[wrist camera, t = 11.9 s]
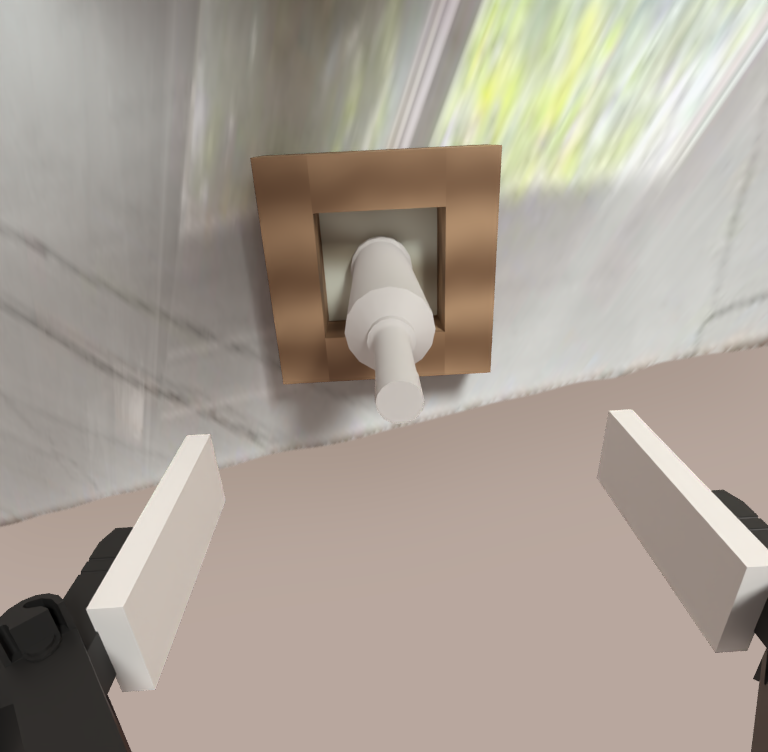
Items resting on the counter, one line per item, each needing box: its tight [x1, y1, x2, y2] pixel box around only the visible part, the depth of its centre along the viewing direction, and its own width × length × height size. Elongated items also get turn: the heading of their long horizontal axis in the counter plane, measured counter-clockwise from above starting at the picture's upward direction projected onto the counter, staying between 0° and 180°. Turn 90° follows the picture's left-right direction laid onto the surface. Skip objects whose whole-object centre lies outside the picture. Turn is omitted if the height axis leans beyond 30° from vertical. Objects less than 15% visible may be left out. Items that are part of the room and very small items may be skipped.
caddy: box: [250, 144, 502, 384], centre depth 42 cm, size 18×18×5 cm
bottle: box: [345, 236, 435, 424], centre depth 32 cm, size 5×5×25 cm
